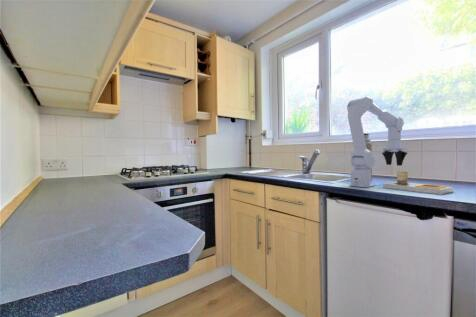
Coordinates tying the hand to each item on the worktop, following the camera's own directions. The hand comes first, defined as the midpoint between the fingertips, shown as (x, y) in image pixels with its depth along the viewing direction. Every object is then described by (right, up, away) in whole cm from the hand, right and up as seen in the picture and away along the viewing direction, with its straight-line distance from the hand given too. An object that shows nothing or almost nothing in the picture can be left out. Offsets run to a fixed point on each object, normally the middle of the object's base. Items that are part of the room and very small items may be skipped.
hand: (394, 165), depth 124 cm
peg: (-6, -10, -15) cm, 19 cm away
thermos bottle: (-8, -10, +15) cm, 20 cm away
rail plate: (-3, -11, -20) cm, 22 cm away
